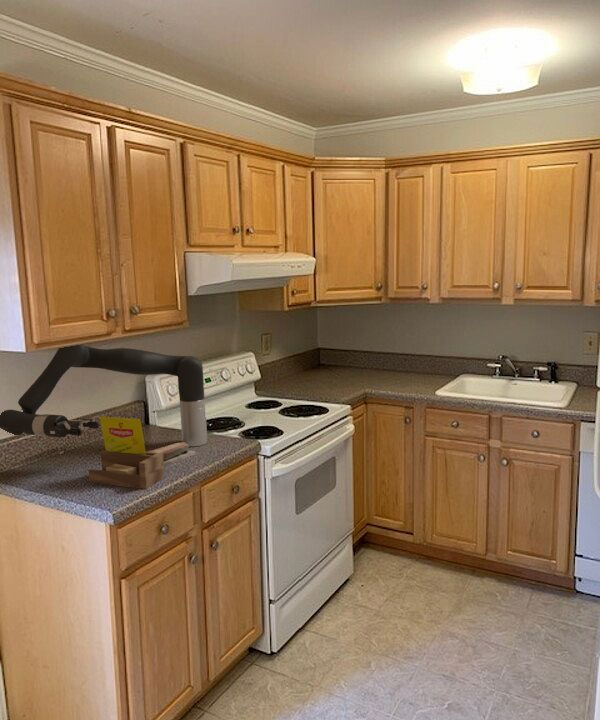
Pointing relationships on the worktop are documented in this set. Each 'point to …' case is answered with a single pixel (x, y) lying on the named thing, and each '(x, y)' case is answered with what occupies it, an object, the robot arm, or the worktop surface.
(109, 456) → the walnut rack
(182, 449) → the packaged product
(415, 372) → the worktop surface
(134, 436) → the food package
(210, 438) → the worktop surface
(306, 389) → the worktop surface
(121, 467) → the upper pine offcut
